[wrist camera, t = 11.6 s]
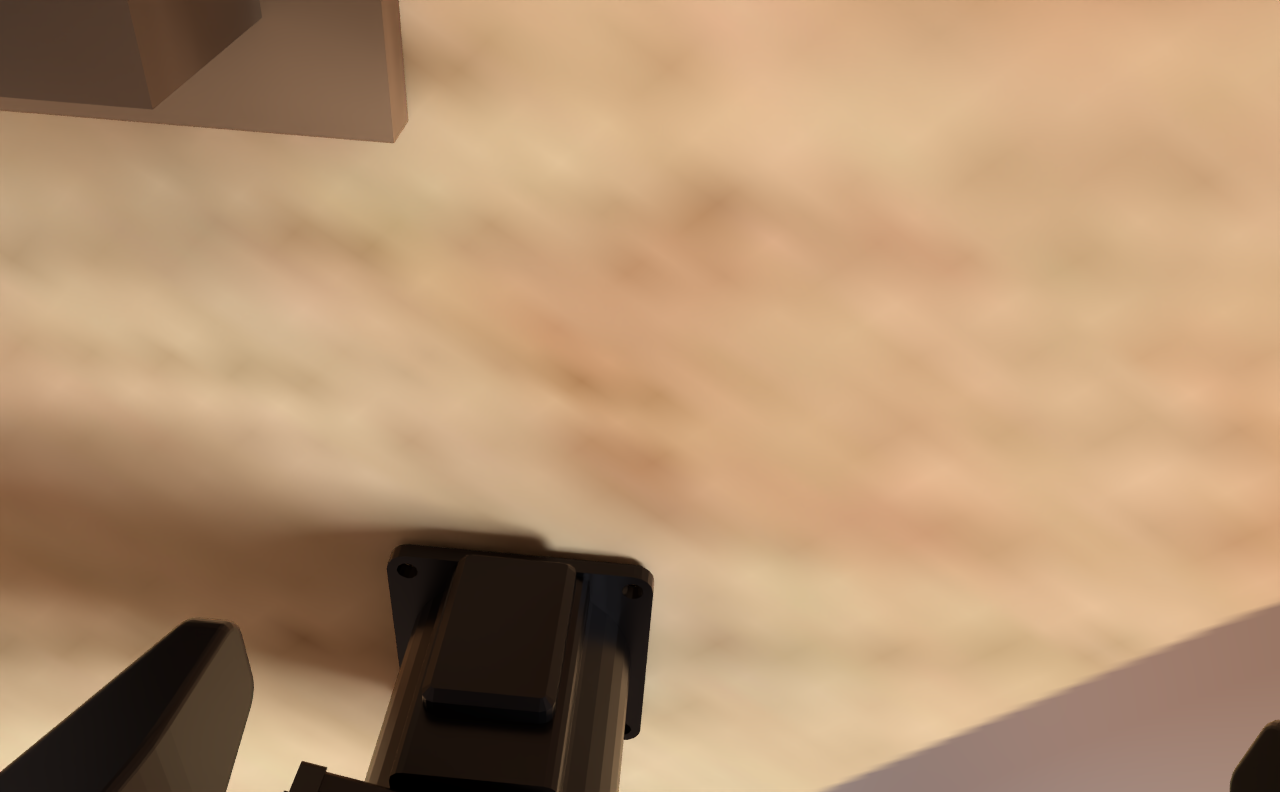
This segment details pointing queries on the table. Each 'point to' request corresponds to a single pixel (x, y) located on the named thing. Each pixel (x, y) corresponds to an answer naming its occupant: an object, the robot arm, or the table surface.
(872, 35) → the table surface
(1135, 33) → the table surface
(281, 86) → the display stand
